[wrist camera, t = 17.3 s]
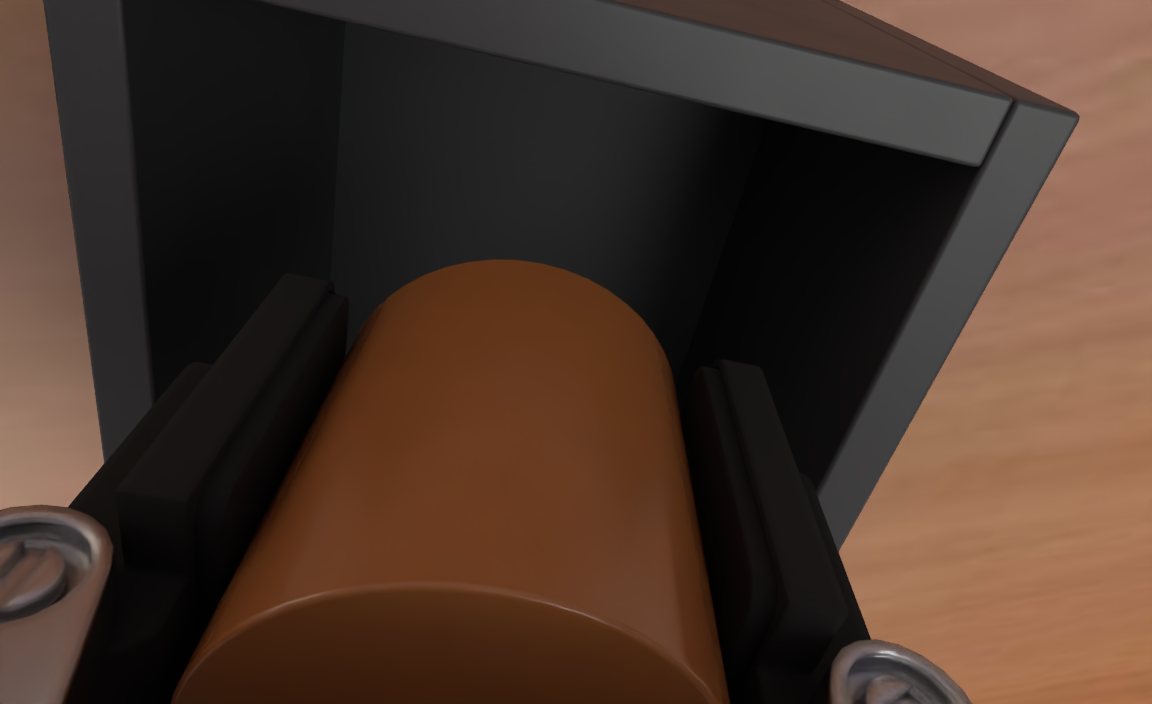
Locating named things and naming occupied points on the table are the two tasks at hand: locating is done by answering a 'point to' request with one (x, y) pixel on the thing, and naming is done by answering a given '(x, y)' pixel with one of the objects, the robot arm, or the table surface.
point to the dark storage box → (552, 183)
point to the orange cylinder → (479, 516)
